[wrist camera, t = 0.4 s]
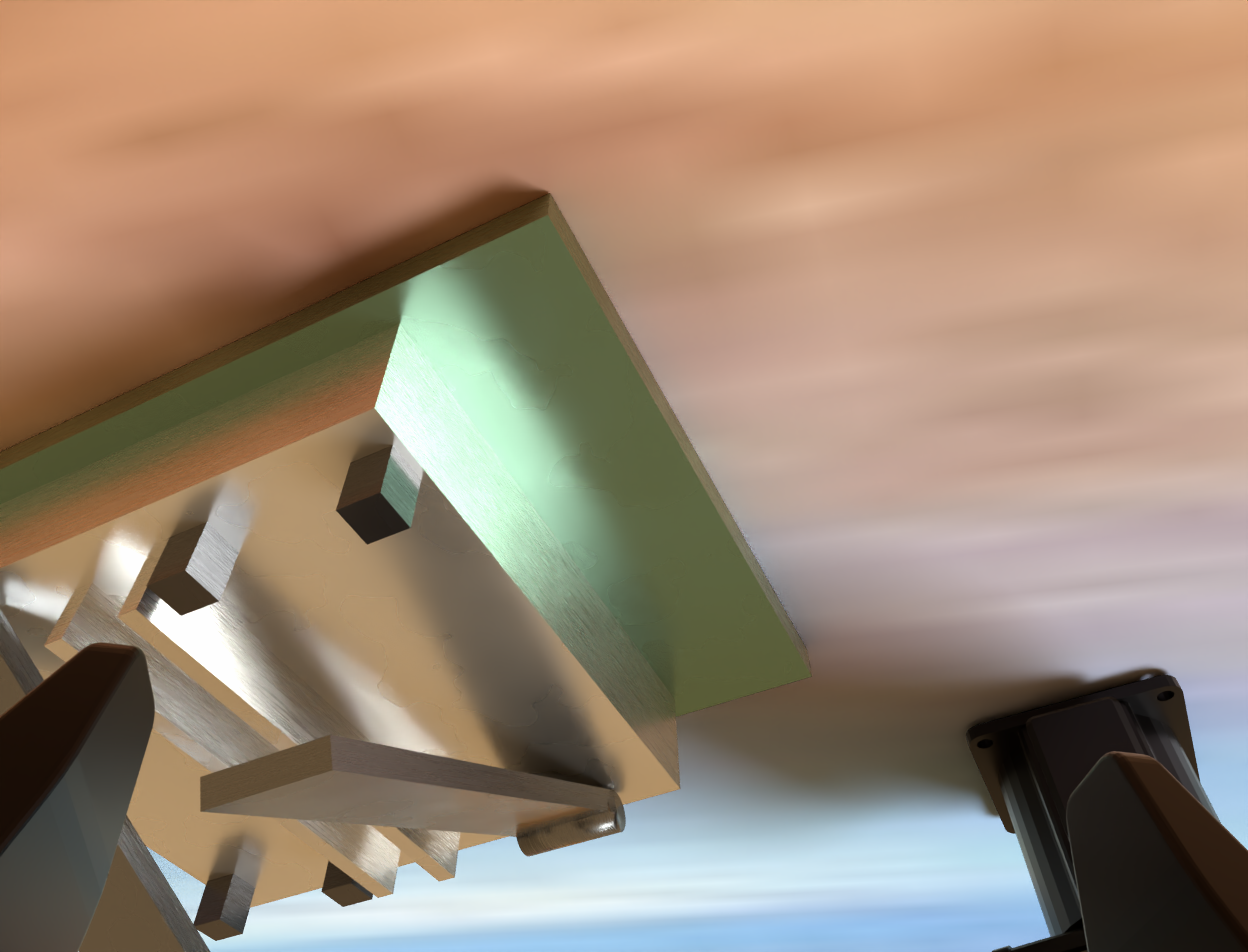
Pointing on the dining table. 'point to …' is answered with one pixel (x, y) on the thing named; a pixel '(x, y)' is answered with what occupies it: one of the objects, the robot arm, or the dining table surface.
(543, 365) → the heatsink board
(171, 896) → the strap
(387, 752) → the strap
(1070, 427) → the dining table surface
